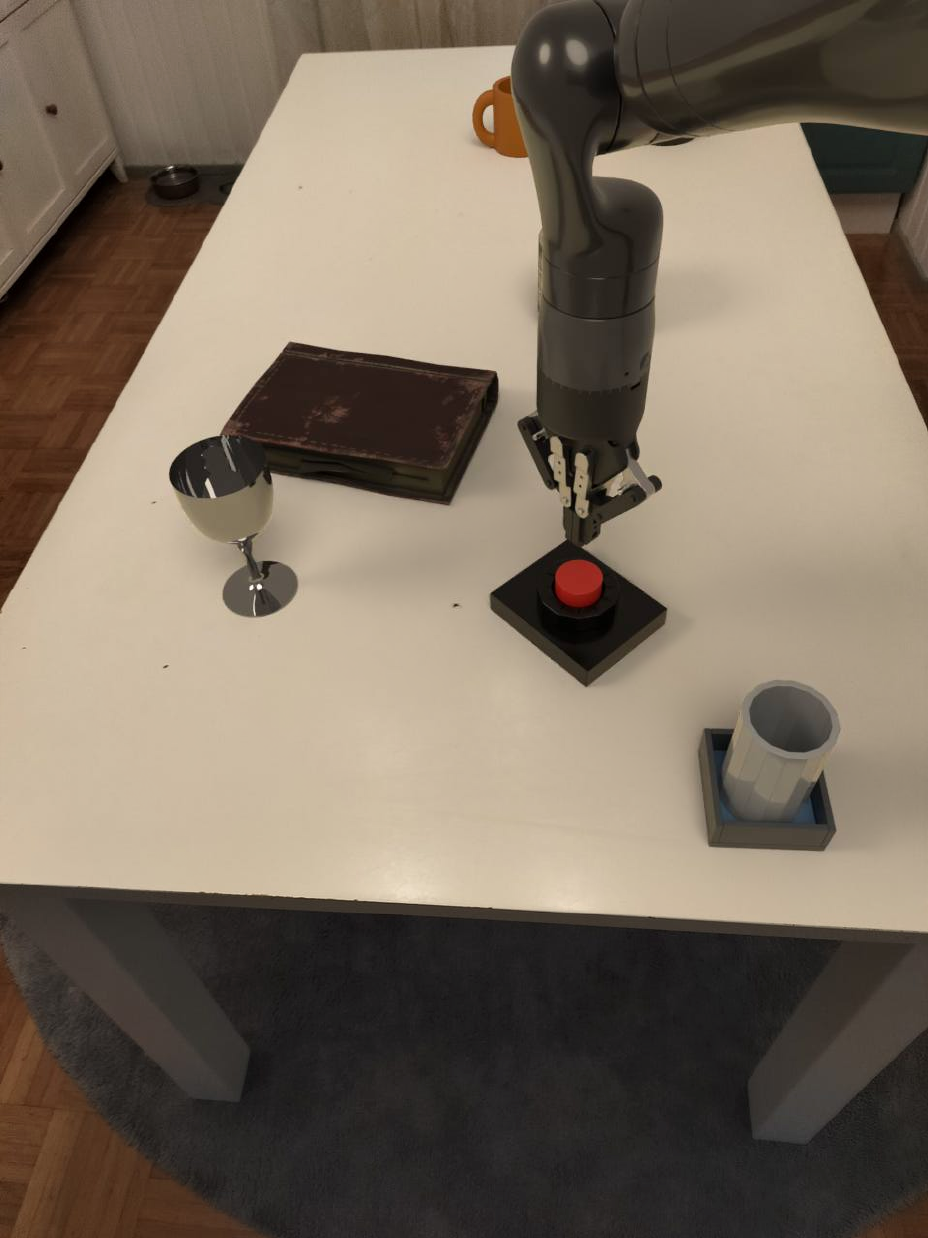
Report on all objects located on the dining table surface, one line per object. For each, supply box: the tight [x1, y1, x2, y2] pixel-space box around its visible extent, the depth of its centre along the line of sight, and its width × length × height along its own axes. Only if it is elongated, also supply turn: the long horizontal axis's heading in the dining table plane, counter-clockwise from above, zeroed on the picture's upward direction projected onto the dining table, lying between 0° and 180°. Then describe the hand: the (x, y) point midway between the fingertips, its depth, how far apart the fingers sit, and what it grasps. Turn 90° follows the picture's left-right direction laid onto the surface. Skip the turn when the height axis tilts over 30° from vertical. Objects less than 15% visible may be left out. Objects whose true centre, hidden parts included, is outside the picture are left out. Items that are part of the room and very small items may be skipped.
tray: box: [697, 727, 837, 852], centre depth 65 cm, size 8×8×3 cm
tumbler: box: [718, 679, 841, 823], centre depth 62 cm, size 6×6×10 cm
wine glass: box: [168, 435, 299, 618], centre depth 78 cm, size 8×8×15 cm
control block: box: [489, 539, 668, 688], centre depth 78 cm, size 12×10×4 cm
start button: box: [555, 560, 603, 607], centre depth 76 cm, size 4×4×2 cm
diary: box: [219, 341, 500, 505], centre depth 95 cm, size 19×25×5 cm
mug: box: [471, 75, 528, 158], centre depth 140 cm, size 9×12×9 cm
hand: (580, 538), depth 71 cm, fingers closed
